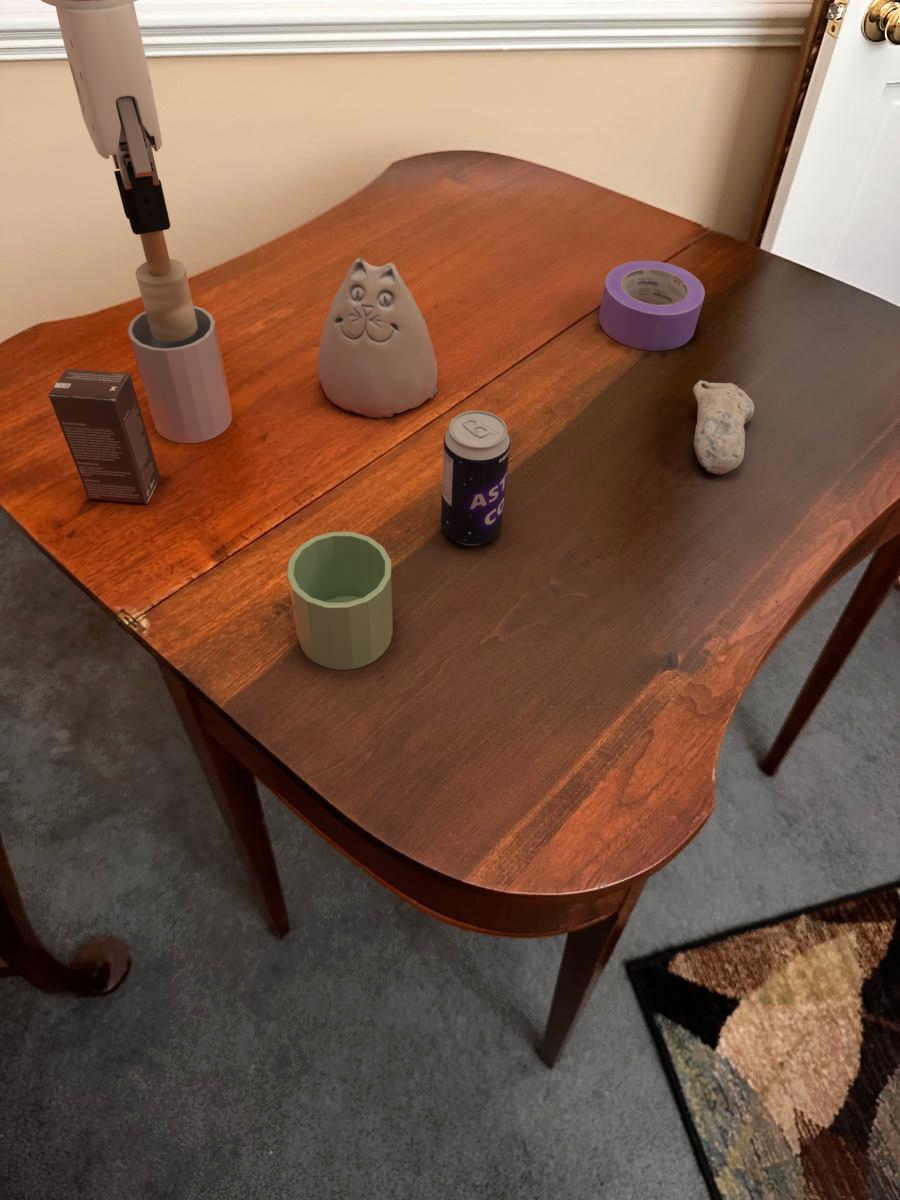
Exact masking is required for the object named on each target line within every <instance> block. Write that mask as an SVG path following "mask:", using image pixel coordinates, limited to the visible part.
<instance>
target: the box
mask: <svg viewBox="0 0 900 1200" xmlns="http://www.w3.org/2000/svg"><path fill="white" fill-rule="evenodd" d="M47 396H48V399H49V401H50V403H51V406H52V409H53V411H54V413H55V416H56V418H57V421H58V424H59V427H60V429H61V432H62V434H63V436H64V439H65V442H66V445H67V447H68V449H69V452H70V455H71V458H72V460H73V462H74V465H75V468H76V471H77V473H78V475H79V478H80V481H81V484H82V487H83V489H84V492H85V495H86V496H87V499H88V500H97V501H109V502H121V503H123V502H124V503H134V504H145V505H148V503H149V501H151V498H152V496H153V494H154V492H155V489H156V487H157V485H158V483H159V480H160V478H161V474H160V472H159V468H158V465H157V461H156V458H155V457H156V456H155V454H154V451H153V448H152V443H151V441H150V440H151V439H150V437H149V433H148V431H147V427H146V424H145V420H144V416H143V414H142V411H141V407H140V404H139V400H138V396H137V394H136V390H135V386H134V383H133V381H132V376H131V373H130V372H115V371H103V370H102V371H99V370H87V369H73V368H66V369H65V370H64V371H63V373H62V374H61V376H60V377H59V378H58V379H57V381H56V383H55V384H54V386H53V387H52V389H50V391H49V392H48V394H47Z"/></svg>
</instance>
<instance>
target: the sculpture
mask: <svg viewBox="0 0 900 1200" xmlns="http://www.w3.org/2000/svg"><path fill="white" fill-rule="evenodd" d="M317 368H318V369H317V370H318V372H317V373H318V379H319V383H320V385H321V387H322V390H323V391H324V394H325V396H326V398H327V399H328V400H327V402H328V403H330V404H334V405H335V406H337V407H339V408H341V409H342V410H344V411H346V412H353V413H355V414H359V415H361V416H365V417H367V418H375V419H376V418H377V419H383V418H392V417H393V416H394V414H400V413H403V412H406V411H408V410H410V409H414V408H416V407H419V406H421V405H422V404H423V403H424V402H426V401H427V400H428V399H432V398H434V395H435V396H436V395H437V393H438V385H437V384H438V378H439V377H438V376H439V375H438V373H439V369H438V362H437V359H436V354H435V351H434V346H433V343H432V339H431V336H430V332H429V329H428V326H427V323H426V321H425V318H424V316H423V313H422V312H421V310H420V308H419V306H418V304H417V301H416V300H415V298H414V296H413V294H412V292H411V290H410V289H409V287H408V286H407V284H406V282H404V279H403V278H402V277H401V275H400V273H399V271H398V269H397V266H396V265H395V264H394V263H393V262H388V263H386V264H384V265H382V266H377V265H376V266H375V265H372V264H370V263H368V262H366V261H365V260H364V259H363V258H362V257H357V258H356V259H355V260H354V261H353V262H352V263H351V265H350V267H349V269H348V270H347V273H346V275H345V277H344V279H343V281H342V283H341V285H340V287H339V288H338V290H337V292H336V294H335V296H334V298H333V301H332V303H331V306H330V308H329V310H328V314H327V316H326V320H325V322H324V326H323V330H322V334H321V340H320V343H319V349H318V355H317ZM329 400H330V401H329Z"/></svg>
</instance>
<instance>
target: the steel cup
mask: <svg viewBox="0 0 900 1200" xmlns="http://www.w3.org/2000/svg"><path fill="white" fill-rule="evenodd" d="M193 306H194V311H195V315H196V320H197V325H198V329H197V331H196V333H195V334H194V335H192V336H191V337H189V338H187V339H185V340H181V341H176V342H166V341H161V340H158V339H156V338H155V337H153V335H152V334H151V331H150V327H149V323H148V319H147V316H146V312H145V310H144V311H142V312H140V313H139V314H137V315H136V316H135V317H134V318H133V319H132V320H131V321H130V322H129V325H128V329H127V333H128V337H129V341H130V345H131V348H132V351H133V355H134V359H135V362H136V366H137V369H138V373H139V377H140V380H141V384H142V387H143V391H144V394H145V397H146V401H147V405H148V408H149V412H150V416H151V419H152V422H153V424H154V429H155V430H156V431H157V433H158V434H159V435H160V436H161V437H163V438H164V439H166V440H167V441H170V442H174V443H179V444H197V443H204V442H206V441H210V440H212V439H214V438H216V437H218V436H220V435H222V434H223V433H224V432H225V431H226V430H227V429H228V428H229V427H230V426H231V423H232V422H233V421H232V420H233V409H232V407H233V406H232V403H231V397H230V393H229V388H228V383H227V382H228V381H227V377H226V371H225V367H224V362H223V356H222V352H221V347H220V341H219V336H218V330H217V325H216V320H215V319H214V317H213V314H211V313H210V312H209V311H207V310H206V309H204V308H203V307H200V306H198V305H195V304H193Z"/></svg>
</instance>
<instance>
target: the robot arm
mask: <svg viewBox="0 0 900 1200" xmlns="http://www.w3.org/2000/svg"><path fill="white" fill-rule="evenodd" d="M40 1H41V2H42V3H45V4H47V5H50V6H53V7H55V11H56V16H57V20H58V25H59V30H60V34H61V37H62V42H63V45H64V49H65V53H66V56H67V57H66V58H67V61H68V64H69V68H70V72H71V76H72V80H73V84H74V87H75V91H76V95H77V99H78V103H79V107H80V112H81V116H82V119H83V122H84V124H85V128H86V130H87V132H88V133H89V137H90V139H91V141H92V143H93V146H94V148H95V150H96V152H97V154H98V155H99V156H100V157H101V158H104V159H105V160H108V159H110V156H112V160H113V164H114V168H115V170H113V174H114V176H115V177H114V178H115V180H116V185H117V188H118V189H117V190H118V193H119V196H120V200H121V204H122V208H123V211H124V215H125V218H126V219H128V222H129V225H130V228H131V231H132V233H133V234H134V235H137V236H140V234H145V233H151V232H157V231H162V230H163V231H166V230H170V228H171V221H170V217H169V213H168V207H167V203H166V199H165V198H166V197H165V195H164V189H163V184H162V181H161V179H159V174H158V170H157V166H156V162H155V157H154V152H153V151H155V152H158V151H159V150H160V149H161V147H162V145H163V140H162V134H161V133H162V132H161V127H160V121H159V116H158V111H157V105H156V99H155V96H154V89H153V85H152V80H151V75H150V71H149V67H148V62H147V56H146V52H145V48H144V43H143V39H142V38H143V37H142V33H141V29H140V25H139V21H138V16H137V12H136V8H135V2H137V1H138V0H40ZM130 157H131V161H128V162H127V165H126V161H125V158H130Z"/></svg>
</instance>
